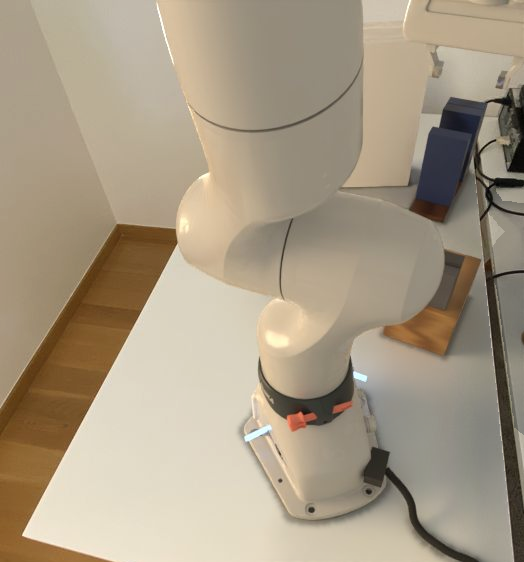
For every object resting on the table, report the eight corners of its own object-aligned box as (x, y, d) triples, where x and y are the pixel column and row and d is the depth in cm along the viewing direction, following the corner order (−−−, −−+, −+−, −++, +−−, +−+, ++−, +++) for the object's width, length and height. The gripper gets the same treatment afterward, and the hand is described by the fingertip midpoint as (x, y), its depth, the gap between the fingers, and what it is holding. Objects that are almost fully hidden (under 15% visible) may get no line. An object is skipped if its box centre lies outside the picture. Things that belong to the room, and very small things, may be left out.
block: (241, 189, 108) (223, 51, 85) (245, 167, 112) (228, 30, 90) (407, 185, 104) (434, 39, 82) (404, 163, 109) (428, 19, 86)
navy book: (453, 200, 99) (472, 133, 88) (450, 207, 98) (468, 141, 87) (419, 191, 101) (432, 126, 90) (415, 198, 100) (428, 133, 89)
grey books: (452, 293, 74) (465, 256, 68) (444, 311, 73) (457, 274, 66) (413, 281, 76) (422, 244, 70) (404, 298, 75) (413, 261, 68)
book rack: (468, 171, 106) (489, 101, 93) (443, 223, 97) (462, 153, 85) (435, 164, 108) (451, 94, 96) (407, 213, 99) (421, 144, 87)
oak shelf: (467, 297, 85) (482, 258, 78) (443, 355, 79) (457, 319, 71) (410, 280, 89) (419, 241, 81) (383, 334, 82) (390, 297, 75)
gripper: (404, -36, 62) (389, 79, 73) (583, -19, 55) (537, 105, 66) (421, -52, 65) (404, 60, 76) (592, -38, 58) (546, 83, 69)
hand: (467, 81), depth 71 cm, fingers open, 8 cm apart
